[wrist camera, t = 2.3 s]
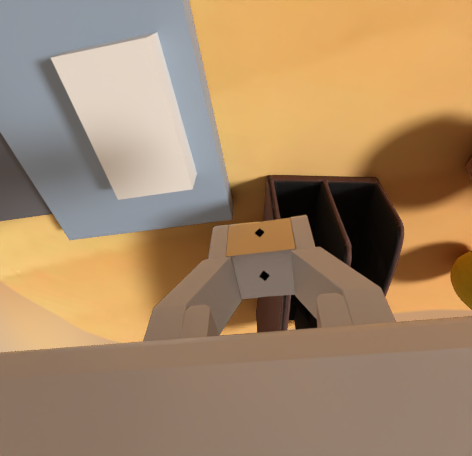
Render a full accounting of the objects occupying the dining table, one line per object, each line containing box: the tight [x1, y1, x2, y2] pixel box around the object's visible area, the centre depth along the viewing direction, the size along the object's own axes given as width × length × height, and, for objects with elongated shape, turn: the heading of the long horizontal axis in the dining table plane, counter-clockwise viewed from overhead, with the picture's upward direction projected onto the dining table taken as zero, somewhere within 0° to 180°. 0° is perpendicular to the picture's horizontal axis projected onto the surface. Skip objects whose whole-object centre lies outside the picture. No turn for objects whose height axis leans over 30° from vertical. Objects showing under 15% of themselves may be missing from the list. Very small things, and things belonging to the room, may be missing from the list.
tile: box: [51, 32, 197, 200], centre depth 22 cm, size 10×6×2 cm, turn 10°
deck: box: [0, 0, 233, 240], centre depth 25 cm, size 20×16×2 cm
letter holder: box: [256, 175, 404, 333], centre depth 29 cm, size 10×20×14 cm, turn 0°
